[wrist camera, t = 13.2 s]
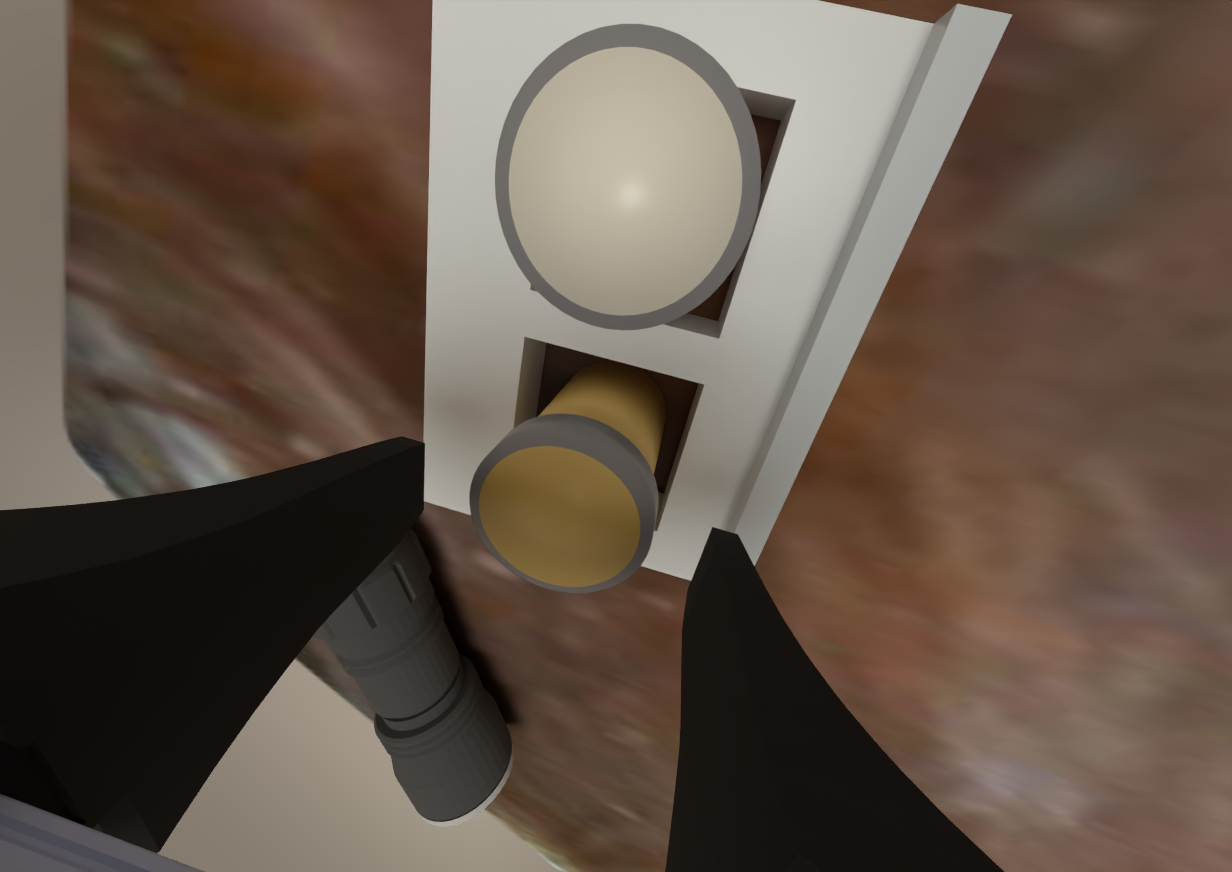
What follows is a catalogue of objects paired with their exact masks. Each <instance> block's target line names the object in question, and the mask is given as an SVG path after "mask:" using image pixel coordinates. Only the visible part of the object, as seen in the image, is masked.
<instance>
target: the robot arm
mask: <svg viewBox="0 0 1232 872" xmlns="http://www.w3.org/2000/svg"><path fill="white" fill-rule="evenodd" d="M424 471H425V443H423V442H419V441H416V440H413V439H409V438H406V437H397V438H393V439H388V440H385V441H381V442H377V443H374V444H370V445H367V446H363V447H360V448H357V449H353V450H350V451H347V452H343V453H340V454H336V455H333V456H330V457H326V458H323V459H319V460H316V461H313V462H309V463H305V464H301V465H298V466H294V467H290V468H286V469H282V470H278V471H275V472H271V473H267V474H263V475H259V476H255V477H251V478H246V479H242V480H237V481H233V482H228V483H223V484H218V485H212V486H207V487H202V488H197V489H191V490H185V491H179V492H172V493H165V494H158V495H151V496H143V497H136V498H129V499H122V500H115V501H107V502H97V503H87V504H77V505H66V506H55V507H42V508H29V509H14V510H0V872H204V871H201V870H199V869H196V868H193V867H191V866H188V865H186V864H183V863H180V862H178V861H175V860H173V859H170V858H167V857H165V856H162V855H159V854H157V853H158V852H159V851H160V850H161V848H162V847H163V845H164V844H165V842H166V841H167V839H168V837H169V836H170V834H171V833H172V831H173V830H174V828H175V826H176V825H177V823H178V822H179V821H180V819H181V818H182V816H183V814H184V813H185V811H186V810H187V808H188V807H189V805H190V804H191V802H192V801H193V799H194V798H195V796H196V795H197V793H198V792H199V790H200V789H201V787H202V786H203V784H204V783H205V781H206V780H207V778H208V777H209V775H210V774H211V772H212V771H213V769H214V768H215V766H216V765H217V764H218V762H219V761H220V759H221V758H222V757H223V755H224V754H225V752H226V751H227V749H228V748H229V747H230V745H231V743H232V742H233V741H234V740H235V738H236V737H237V735H238V734H239V733H240V731H241V730H242V728H243V727H244V725H245V724H246V722H247V721H248V720H249V718H250V717H251V716H252V714H253V713H254V711H255V710H256V709H257V707H258V706H259V705H260V703H261V702H262V701H263V700H264V698H265V697H266V696H267V694H268V693H269V691H270V690H271V689H272V688H273V686H274V685H275V684H276V682H277V681H278V680H279V678H280V677H281V676H282V674H283V673H284V672H285V670H286V669H287V668H288V666H289V665H290V664H291V663H292V661H293V660H294V659H295V658H296V656H297V655H298V654H299V653H300V651H301V650H302V649H303V648H304V646H305V645H306V644H307V642H308V641H309V640H310V639H311V637H312V636H313V635H314V634H315V632H316V631H317V630H318V629H319V628H320V627H321V625H322V624H323V623H324V622H325V621H326V620H327V619H328V618H329V617H330V615H331V614H332V613H333V612H334V611H335V610H336V609H337V608H338V607H339V606H340V605H341V604H342V603H343V602H344V601H345V600H346V599H347V598H348V597H349V596H350V594H351V593H352V592H353V591H354V590H355V589H356V588H357V587H358V586H359V585H360V584H361V583H362V582H363V581H364V580H365V579H366V578H367V577H368V576H369V575H370V574H371V573H372V572H373V571H374V570H375V569H376V568H377V566H378V565H379V564H380V563H381V562H382V561H383V560H384V559H385V558H386V557H387V556H388V555H389V554H390V553H391V552H392V551H393V550H394V548H395V547H396V546H397V545H398V544H399V543H400V542H401V541H402V539H403V538H404V537H405V535H406V534H407V533H408V531H409V530H410V529H411V527H412V526H413V524H414V523H415V521H416V520H417V519H418V517H419V516H420V514H421V513H422V511H423V510H424ZM665 872H1004V871H1003V870H1002V869H1001V868H1000V867H999V866H998V865H996V864H995V863H994V862H993V861H992V860H991V859H990V858H989V857H988V856H987V855H986V854H985V853H984V852H983V851H982V850H981V849H980V848H979V847H977V846H976V845H975V844H974V843H973V842H972V841H971V840H970V839H969V838H968V837H967V836H966V835H965V834H964V833H963V832H962V831H961V830H959V829H958V828H957V827H956V826H955V825H954V824H953V823H952V822H951V821H950V820H949V819H948V818H947V817H946V816H945V815H944V814H943V813H942V812H941V811H940V810H939V809H938V808H937V807H936V806H935V805H934V804H933V803H932V802H931V801H930V800H929V799H928V798H927V797H926V796H925V795H924V794H923V793H922V792H921V790H920V789H919V788H918V787H917V786H916V785H915V784H914V783H913V782H912V781H911V780H910V779H909V778H908V777H907V776H906V775H905V774H904V773H903V772H902V771H901V770H900V769H899V767H898V766H897V765H896V764H895V763H894V762H893V761H892V760H891V759H890V758H889V757H888V755H887V754H886V753H885V752H884V751H883V750H882V749H881V748H880V747H879V745H878V744H877V743H876V742H875V741H874V740H873V738H872V737H871V736H870V735H869V734H868V733H867V731H866V730H865V729H864V728H863V727H862V726H861V724H860V723H859V722H858V721H857V720H856V719H855V717H854V716H853V715H852V714H851V713H850V711H849V710H848V709H847V708H846V707H845V705H844V704H843V703H842V702H841V700H840V699H839V698H838V697H837V695H836V694H835V693H834V691H833V690H832V689H831V687H830V686H829V685H828V683H827V682H826V681H825V679H824V678H823V677H822V675H821V674H820V673H819V671H818V670H817V669H816V667H815V666H814V665H813V663H812V662H811V660H810V659H809V658H808V656H807V655H806V653H805V652H804V650H803V649H802V647H801V646H800V644H799V643H798V641H797V640H796V638H795V637H794V635H793V633H792V632H791V630H790V629H789V627H788V626H787V624H786V623H785V621H784V619H783V618H782V616H781V614H780V613H779V611H778V609H777V607H776V605H775V604H774V602H773V600H772V598H771V597H770V595H769V593H768V591H767V590H766V588H765V586H764V584H763V582H762V580H761V578H760V576H759V574H758V572H757V571H756V569H755V567H754V565H753V563H752V561H751V559H750V557H749V555H748V553H747V551H746V549H745V547H744V545H743V543H742V541H741V539H740V537H739V535H738V534H735V533H732V532H728V531H725V530H721V529H718V528H714V527H712V529H711V531H710V534H709V537H708V539H707V542H706V544H705V547H704V549H703V552H702V554H701V557H700V560H699V562H698V565H697V567H696V570H695V572H694V575H693V578H692V580H691V583H690V585H689V588H688V591H687V598H686V605H685V612H684V620H683V628H682V664H681V729H680V747H679V758H678V768H677V777H676V786H675V796H674V805H673V813H672V821H671V830H670V838H669V847H668V855H667V863H666V871H665Z"/></svg>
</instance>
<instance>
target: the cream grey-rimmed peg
mask: <svg viewBox="0 0 1232 872" xmlns="http://www.w3.org/2000/svg"><path fill="white" fill-rule="evenodd" d="M760 188H761V161H760V150H759V145H758V139H757V134H756V130H755V127H754V124H753V121H752V118H751V115H750V112H749V109H748V107H747V105H746V103H745V101H744V99H743V97H742V95H741V93H740V91H739V89H738V88H737V86H736V85H735V83H734V82H733V80H732V79H731V77H730V76H729V74H728V73H727V72H726V71H725V69H724V68H723V67H722V66H721V65H720V64H719V63H718V62H717V61H716V60H715V58H714V57H712V56H711V55H710V54H709V53H707V52H706V51H705V50H704V49H702V48H701V47H700V46H699V45H697V44H696V43H694V42H692V41H690V40H689V39H687V38H685V37H683V36H682V35H680V34H677V33H675V32H672V31H669V30H666V29H664V28H661V27H655V26H650V25H644V24H617V25H611V26H604V27H600V28H597V29H594V30H591V31H588V32H585V33H583V34H581V35H579V36H577V37H575V38H573V39H571V40H569V41H568V42H566V43H564V44H563V45H562V46H560V47H559V48H558V49H556V50H555V51H553V52H552V53H551V54H549V55H548V56H547V57H546V58H545V59H544V60H543V61H542V62H541V63H540V64H539V65H538V66H537V67H536V68H535V69H534V71H533V72H532V73H531V75H530V76H529V77H528V79H527V80H526V81H525V83H524V84H523V85H522V87H521V89H520V90H519V92H518V94H517V96H516V97H515V99H514V101H513V103H512V105H511V107H510V110H509V112H508V114H507V117H506V119H505V122H504V125H503V129H502V132H501V135H500V139H499V144H498V150H497V156H496V165H495V195H496V203H497V210H498V216H499V220H500V223H501V227H502V231H503V234H504V237H505V239H506V242H507V244H508V247H509V249H510V252H511V254H512V255H513V257H514V259H515V261H516V263H517V265H518V267H519V268H520V270H521V271H522V272H523V274H524V275H525V277H526V278H527V280H528V281H529V282H530V283H531V284H532V286H533V287H534V288H535V289H536V290H537V291H538V293H540V294H541V295H542V296H543V297H544V298H545V299H546V300H547V301H548V302H550V303H551V304H552V305H553V306H555V307H556V308H558V309H559V310H561V311H562V312H563V313H565V314H567V315H569V316H571V317H573V318H575V319H576V320H579V321H581V322H584V323H587V324H589V325H592V326H597V327H601V328H605V329H613V330H639V329H645V328H651V327H655V326H658V325H662V324H665V323H668V322H670V321H672V320H675V319H677V318H679V317H681V316H683V315H685V314H686V313H688V312H690V311H691V310H693V309H694V308H696V307H697V306H699V305H700V304H701V303H702V302H704V301H705V300H706V299H707V298H709V297H710V296H711V295H712V294H713V293H714V292H715V291H716V290H717V289H718V287H719V286H720V285H721V284H722V283H723V282H724V281H725V279H726V278H727V277H728V275H729V274H730V273H731V271H732V270H733V269H734V267H735V265H736V263H737V262H738V260H739V258H740V257H741V255H742V253H743V251H744V249H745V246H746V244H747V242H748V240H749V237H750V235H751V232H752V229H753V225H754V222H755V218H756V215H757V210H758V204H759V198H760Z"/></svg>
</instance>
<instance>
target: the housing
mask: <svg viewBox="0 0 1232 872" xmlns="http://www.w3.org/2000/svg"><path fill="white" fill-rule="evenodd" d="M1011 16H1012V14H1007V13H1002V12H996V11H991V10H986V9H981V8H976V7H971V6H966V5H961V4H956V5H955V6H954V7H953V8H952V9H951V10H949V11H948V12H947V13H946V14H945V15H944V16H943V17H941V18H940V19H939V20H938V21H937V22H936V23H935V24H932V23H927V22H922V21H917V20H912V19H907V18H902V17H897V16H893V15H888V14H883V13H878V12H873V11H868V10H863V9H858V8H853V7H848V6H843V5H838V4H833V3H828V2H823V1H818V0H433V13H432V60H431V108H430V155H429V202H428V250H427V297H426V344H425V392H424V439H423V443H425V471H424V501H425V502H428V503H432V504H435V505H438V506H442V507H445V508H449V509H452V510H455V511H459V512H462V513H465V514H469V515H471V511H470V505H469V493H470V487H471V482H472V479H473V476H474V474H475V472H476V470H477V468H478V466H479V465H480V463H481V462H482V461H483V459H484V458H485V457H486V456H487V455H488V454H489V453H490V452H491V451H492V450H493V449H494V448H495V446H496V445H497V444H498V443H499V442H500V441H501V440H502V439H503V438H504V437H505V436H506V435H507V434H508V433H509V432H510V431H511V430H512V429H514V428H515V427H517V426H518V425H520V424H521V423H523V422H525V421H527V420H529V419H532V418H535V417H536V414H537V407H538V400H539V393H540V386H541V379H542V372H543V366H544V359H545V352H546V345H547V343H550V344H554V345H558V346H562V347H565V348H569V349H573V350H577V351H580V352H584V353H588V354H592V355H595V356H599V357H603V358H607V359H610V360H614V361H618V362H622V363H625V364H629V365H633V366H637V367H640V368H644V369H648V370H652V371H655V372H659V373H663V374H667V375H670V376H674V377H678V378H682V379H685V380H689V381H693V382H697V383H698V386H697V389H696V392H695V396H694V399H693V402H692V405H691V408H690V412H689V415H688V418H687V421H686V424H685V427H684V431H683V434H682V437H681V440H680V443H679V446H678V450H677V453H676V456H675V459H674V462H673V465H672V469H671V472H670V475H669V478H668V481H667V485H666V488H665V491H664V493H660V492H658V498H659V500H658V511H657V516H656V522H655V527H654V533H653V538H652V542H651V547H650V549H649V552H648V554H647V557H646V558H645V560H644V561H643V563H642V565H641V566H643V567H646V568H650V569H653V570H657V571H660V572H663V573H667V574H670V575H673V576H677V577H680V578H683V579H687V580H690V581H691V580H692V578H693V575H694V572H695V570H696V567H697V565H698V562H699V560H700V557H701V554H702V552H703V549H704V547H705V544H706V542H707V539H708V537H709V534H710V531H711V529H712V527H714V528H718V529H721V530H725V531H728V532H732V533H735V534H738V535H739V537H740V539H741V541H742V543H743V545H744V547H745V549H746V551H747V553H748V555H749V557H750V559H751V561H752V563H753V565H754V566H755V564H756V562H757V560H758V558H759V556H760V553H761V551H762V549H763V547H764V545H765V543H766V541H767V539H768V536H769V534H770V532H771V530H772V528H773V526H774V524H775V521H776V519H777V517H778V515H779V513H780V511H781V509H782V506H783V504H784V502H785V500H786V498H787V496H788V494H789V491H790V489H791V487H792V485H793V483H794V481H795V479H796V476H797V474H798V472H799V470H800V468H801V466H802V464H803V461H804V459H805V457H806V455H807V453H808V451H809V449H810V446H811V444H812V442H813V440H814V438H815V436H816V434H817V431H818V429H819V427H820V425H821V423H822V421H823V419H824V416H825V414H826V412H827V410H828V408H829V406H830V404H831V401H832V399H833V397H834V395H835V393H836V391H837V389H838V386H839V384H840V382H841V380H842V378H843V376H844V374H845V372H846V369H847V367H848V365H849V363H850V361H851V359H852V357H853V354H854V352H855V350H856V348H857V346H858V344H859V342H860V339H861V337H862V335H863V333H864V331H865V329H866V327H867V324H868V322H869V320H870V318H871V316H872V314H873V312H874V309H875V307H876V305H877V303H878V301H879V299H880V297H881V294H882V292H883V290H884V288H885V286H886V284H887V282H888V279H889V277H890V275H891V273H892V271H893V269H894V267H895V264H896V262H897V260H898V258H899V256H900V254H901V252H902V249H903V247H904V245H905V243H906V241H907V239H908V237H909V234H910V232H911V230H912V228H913V226H914V224H915V222H916V220H917V217H918V215H919V213H920V211H921V209H922V207H923V205H924V202H925V200H926V198H927V196H928V194H929V192H930V190H931V187H932V185H933V183H934V181H935V179H936V177H937V175H938V172H939V170H940V168H941V166H942V164H943V162H944V160H945V157H946V155H947V153H948V151H949V149H950V147H951V145H952V142H953V140H954V138H955V136H956V134H957V132H958V130H959V127H960V125H961V123H962V121H963V119H964V117H965V115H966V112H967V110H968V108H969V106H970V104H971V102H972V100H973V97H974V95H975V93H976V91H977V89H978V87H979V85H980V82H981V80H982V78H983V76H984V74H985V72H986V70H987V67H988V65H989V63H990V61H991V59H992V57H993V55H994V53H995V50H996V48H997V46H998V44H999V42H1000V40H1001V38H1002V35H1003V33H1004V31H1005V29H1006V27H1007V25H1008V23H1009V20H1010V18H1011ZM617 24H644V25H650V26H655V27H661V28H664V29H666V30H669V31H672V32H675V33H677V34H680V35H682V36H683V37H685V38H687V39H689V40H690V41H692V42H694V43H696V44H697V45H699V46H700V47H701V48H702V49H704V50H705V51H706V52H707V53H709V54H710V55H711V56H712V57H714V58H715V60H716V61H717V62H718V63H719V64H720V65H721V66H722V67H723V68H724V69H725V71H726V72H727V73H728V74H729V76H730V77H731V79H732V80H733V82H734V83H735V85H736V86H737V88H738V89H739V91H740V93H741V95H742V97H743V99H744V101H745V103H746V105H747V107H748V109H749V112H750V114H753V115H757V116H762V117H766V118H771V119H775V120H780V121H781V123H780V126H779V129H778V132H777V135H776V139H775V142H774V145H773V148H772V151H771V154H770V158H769V161H768V164H767V167H766V170H765V173H764V177H763V180H762V183H761V188H760V198H759V204H758V210H757V215H756V218H755V222H754V225H753V229H752V232H751V235H750V237H749V240H748V242H747V244H746V246H745V249H744V251H743V253H742V255H741V257H740V258H739V260H738V262H737V263H736V266H735V269H734V272H733V275H732V278H731V281H730V285H729V288H728V291H727V294H726V297H725V300H724V304H723V307H722V310H721V313H720V316H719V319H718V321H715V320H711V319H708V318H704V317H700V316H696V315H692V314H688V313H686V314H685V315H683V316H681V317H679V318H677V319H675V320H672V321H670V322H668V323H665V324H662V325H658V326H655V327H651V328H645V329H639V330H613V329H605V328H601V327H597V326H592V325H589V324H587V323H584V322H581V321H579V320H576V319H575V318H573V317H571V316H569V315H567V314H565V313H563V312H562V311H561V310H559V309H558V308H556V307H555V306H553V305H552V304H551V303H550V302H548V301H547V300H546V299H545V298H544V297H543V296H542V295H541V294H540V293H538V291H537V290H536V289H535V288H534V287H533V286H532V284H531V283H530V282H529V281H528V280H527V278H526V277H525V275H524V274H523V272H522V271H521V270H520V268H519V267H518V265H517V263H516V261H515V259H514V257H513V255H512V254H511V252H510V249H509V247H508V244H507V242H506V239H505V237H504V234H503V231H502V227H501V223H500V220H499V216H498V210H497V203H496V195H495V165H496V156H497V150H498V144H499V139H500V135H501V132H502V129H503V125H504V122H505V119H506V117H507V114H508V112H509V110H510V107H511V105H512V103H513V101H514V99H515V97H516V96H517V94H518V92H519V90H520V89H521V87H522V85H523V84H524V83H525V81H526V80H527V79H528V77H529V76H530V75H531V73H532V72H533V71H534V69H535V68H536V67H537V66H538V65H539V64H540V63H541V62H542V61H543V60H544V59H545V58H546V57H547V56H548V55H549V54H551V53H552V52H553V51H555V50H556V49H558V48H559V47H560V46H562V45H563V44H564V43H566V42H568V41H569V40H571V39H573V38H575V37H577V36H579V35H581V34H583V33H585V32H588V31H591V30H594V29H597V28H600V27H604V26H611V25H617Z"/></svg>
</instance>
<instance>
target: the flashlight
mask: <svg viewBox="0 0 1232 872" xmlns="http://www.w3.org/2000/svg"><path fill="white" fill-rule="evenodd" d="M430 574H431V566H430V564H429V562H428V560H427V557H426V555H425V553H424V551H423V549H422V546H421V544H420V542H419V540H418V538H417V536H416V533H415V532H414V531H413V530H412V529H410V530H409V531H408V533H407V534H406V535H405V537H404V538H403V539H402V541H401V542H400V543H399V544H398V545H397V546H396V547H395V548H394V550H393V551H392V552H391V553H390V554H389V555H388V556H387V557H386V558H385V559H384V560H383V561H382V562H381V563H380V564H379V565H378V566H377V568H376V569H375V570H374V571H373V572H372V573H371V574H370V575H369V576H368V577H367V578H366V579H365V580H364V581H363V582H362V583H361V584H360V585H359V586H358V587H357V588H356V589H355V590H354V591H353V592H352V593H351V594H350V596H349V597H348V598H347V599H346V600H345V601H344V602H343V603H342V604H341V605H340V606H339V607H338V608H337V609H336V610H335V611H334V612H333V613H332V614H331V615H330V617H329V618H328V619H327V620H326V621H325V622H324V623H323V624H322V625H321V627H320V628H319V629H318V630H317V631H316V632H315V634H314V635H313V637H315V638H318V639H322V640H325V641H326V643H327V644H328V646H329V648H330V649H331V651H332V652H334V653H335V654H336V655H337V659H338V660H339V662H340V663H341V664H342V665H343V668H344V670H345V672H347V673H348V674H349V675H350V676H352V677H354V678H355V680H356V682H357V683H358V685H359V686H360V688H361V690H362V691H363V693H364V695H365V696H366V698H367V700H368V701H369V703H370V705H371V706H372V708H373V709H374V711H375V712H376V713H375V718H374V728H375V732H376V735H377V736H378V738H379V739H380V741H381V743H382V744H383V746H384V747H385V749H386V751H387V753H388V754H389V755H391V758H392V764H393V769H394V773H395V776H396V778H397V780H398V781H399V783H400V785H401V786H402V788H403V790H404V791H405V793H406V794H407V796H408V797H409V799H410V800H411V802H412V803H413V805H414V807H415V808H416V810H417V812H418V813H419V815H420V816H421V817H422V819H423V820H424V821H426V822H427V823H429V824H431V825H434V826H438V827H448V826H454V825H458V824H461V823H463V822H465V821H467V820H469V819H471V818H473V817H474V816H476V815H477V814H479V813H480V812H481V811H482V810H483V809H485V808H486V807H487V806H488V805H489V804H490V803H491V802H492V801H493V800H494V799H495V797H496V796H497V795H498V793H499V792H500V791H501V789H502V787H503V786H504V784H505V782H506V780H507V778H508V776H509V774H510V771H511V768H512V764H513V759H514V743H513V739H512V736H511V734H510V732H509V730H508V728H507V726H506V723H505V721H504V719H503V717H502V714H501V712H500V710H499V708H498V706H497V703H496V701H495V700H494V698H493V696H492V695H491V694H490V693H489V692H488V691H487V690H486V689H485V688H484V687H483V686H482V682H481V680H480V678H479V676H478V673H477V671H476V670H475V667H474V665H473V663H472V662H471V661H470V660H469V659H468V658H467V657H465V656H463V655H460V654H459V652H458V650H457V648H456V646H455V644H454V642H453V639H452V637H451V635H450V633H449V631H448V629H447V627H446V625H445V622H444V620H443V617H444V616H443V611H442V608H441V606H440V605H439V603H438V599H437V597H436V596H435V595H434V589H433V586H432V584H431V582H430V580H429V576H430Z"/></svg>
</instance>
